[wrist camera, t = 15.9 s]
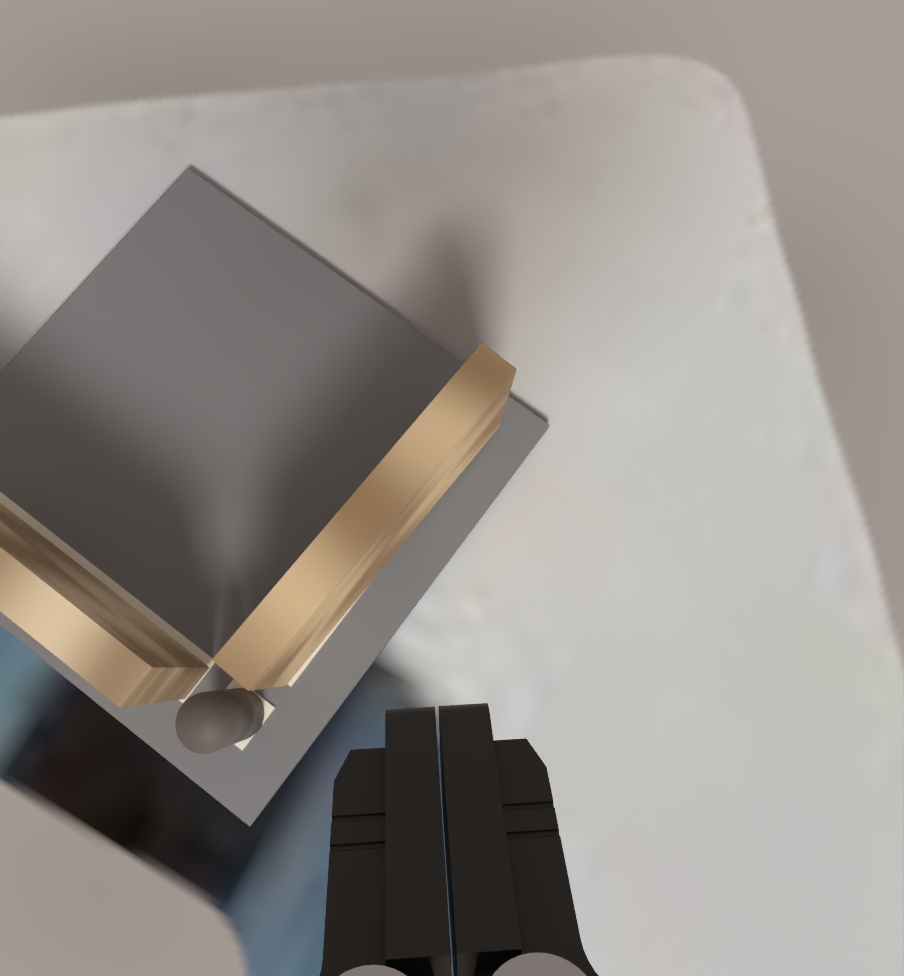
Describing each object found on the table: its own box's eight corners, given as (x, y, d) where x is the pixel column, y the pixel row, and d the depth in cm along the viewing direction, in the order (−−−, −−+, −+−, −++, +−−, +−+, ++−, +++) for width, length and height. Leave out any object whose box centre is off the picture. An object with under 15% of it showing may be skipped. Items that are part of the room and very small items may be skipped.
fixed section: (-67, 502, 35) (-206, 456, 27) (-33, 464, 35) (-161, 408, 28) (245, 750, 33) (189, 775, 25) (277, 708, 33) (232, 720, 26)
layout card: (-126, 519, 35) (-134, 517, 34) (190, 173, 38) (187, 166, 38) (252, 824, 32) (249, 827, 32) (548, 427, 36) (550, 424, 36)
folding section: (285, 685, 33) (248, 690, 26) (256, 661, 33) (211, 659, 26) (499, 426, 35) (516, 368, 28) (471, 404, 35) (481, 342, 29)
